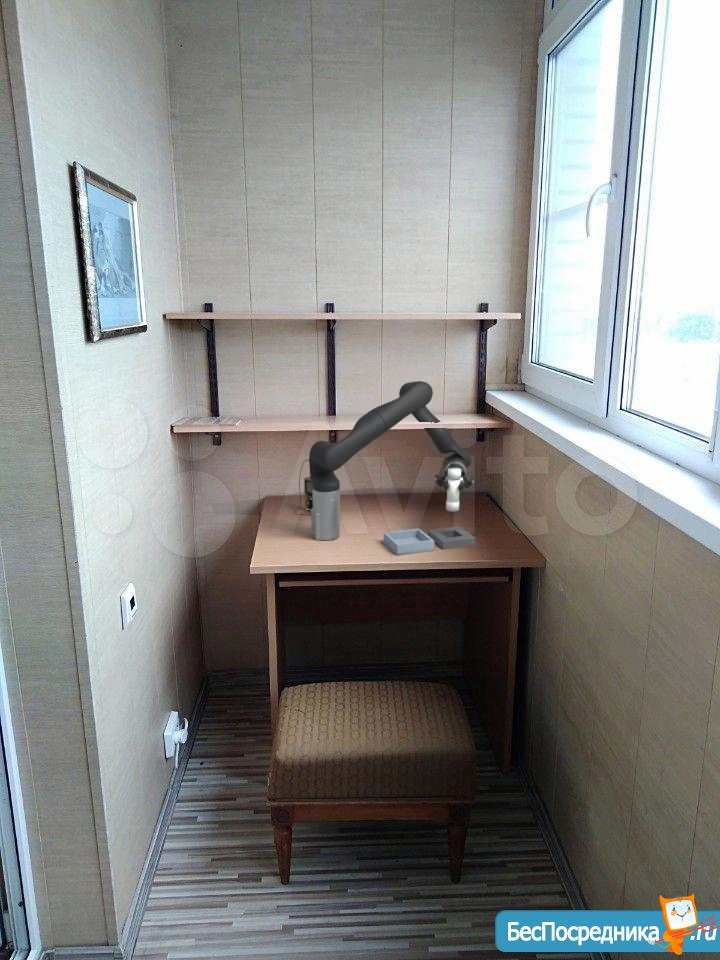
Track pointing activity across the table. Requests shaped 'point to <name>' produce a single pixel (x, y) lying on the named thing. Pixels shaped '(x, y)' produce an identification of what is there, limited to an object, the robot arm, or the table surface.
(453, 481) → the fuse
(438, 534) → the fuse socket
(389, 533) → the parts tray
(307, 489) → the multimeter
